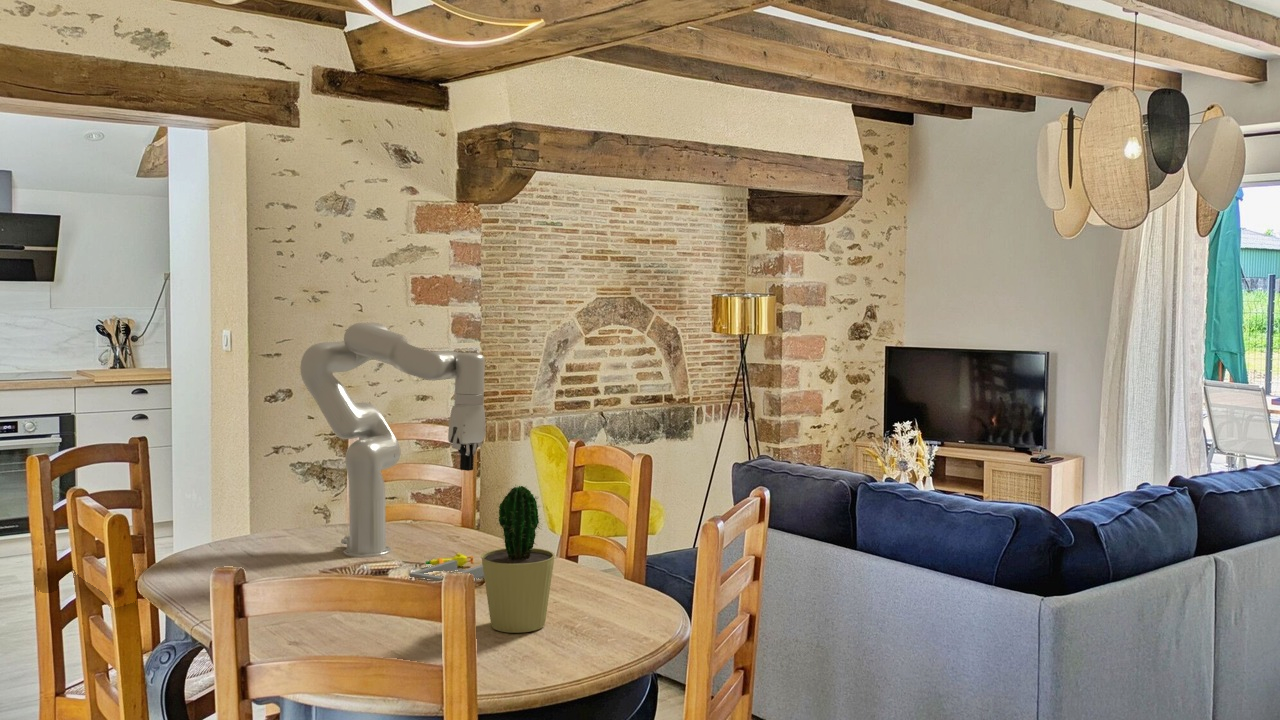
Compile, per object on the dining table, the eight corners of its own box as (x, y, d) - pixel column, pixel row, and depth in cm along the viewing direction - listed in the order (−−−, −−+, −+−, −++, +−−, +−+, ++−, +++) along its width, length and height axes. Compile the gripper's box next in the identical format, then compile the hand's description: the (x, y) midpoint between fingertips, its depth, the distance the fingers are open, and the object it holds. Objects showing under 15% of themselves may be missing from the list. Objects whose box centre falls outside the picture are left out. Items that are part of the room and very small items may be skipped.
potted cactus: (511, 610, 233) (510, 475, 232) (568, 621, 225) (569, 481, 224) (465, 628, 220) (465, 485, 219) (525, 640, 212) (525, 491, 211)
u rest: (407, 585, 254) (407, 573, 254) (451, 571, 268) (451, 559, 268) (446, 592, 248) (446, 579, 248) (488, 577, 262) (488, 565, 262)
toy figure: (473, 557, 269) (425, 563, 266) (474, 571, 269) (426, 577, 267) (471, 548, 275) (424, 554, 273) (472, 561, 276) (425, 567, 273)
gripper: (476, 397, 285) (474, 465, 286) (438, 400, 272) (436, 471, 273) (498, 399, 281) (496, 468, 282) (460, 403, 268) (458, 475, 269)
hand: (466, 469), depth 277 cm, fingers closed
